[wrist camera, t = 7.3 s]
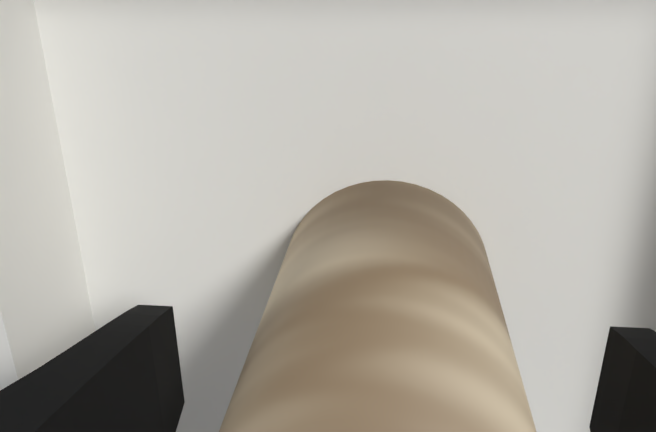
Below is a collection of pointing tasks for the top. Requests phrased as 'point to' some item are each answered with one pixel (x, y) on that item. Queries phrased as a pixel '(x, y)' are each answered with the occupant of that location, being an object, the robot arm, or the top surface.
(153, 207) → the tray
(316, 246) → the birch cylinder
